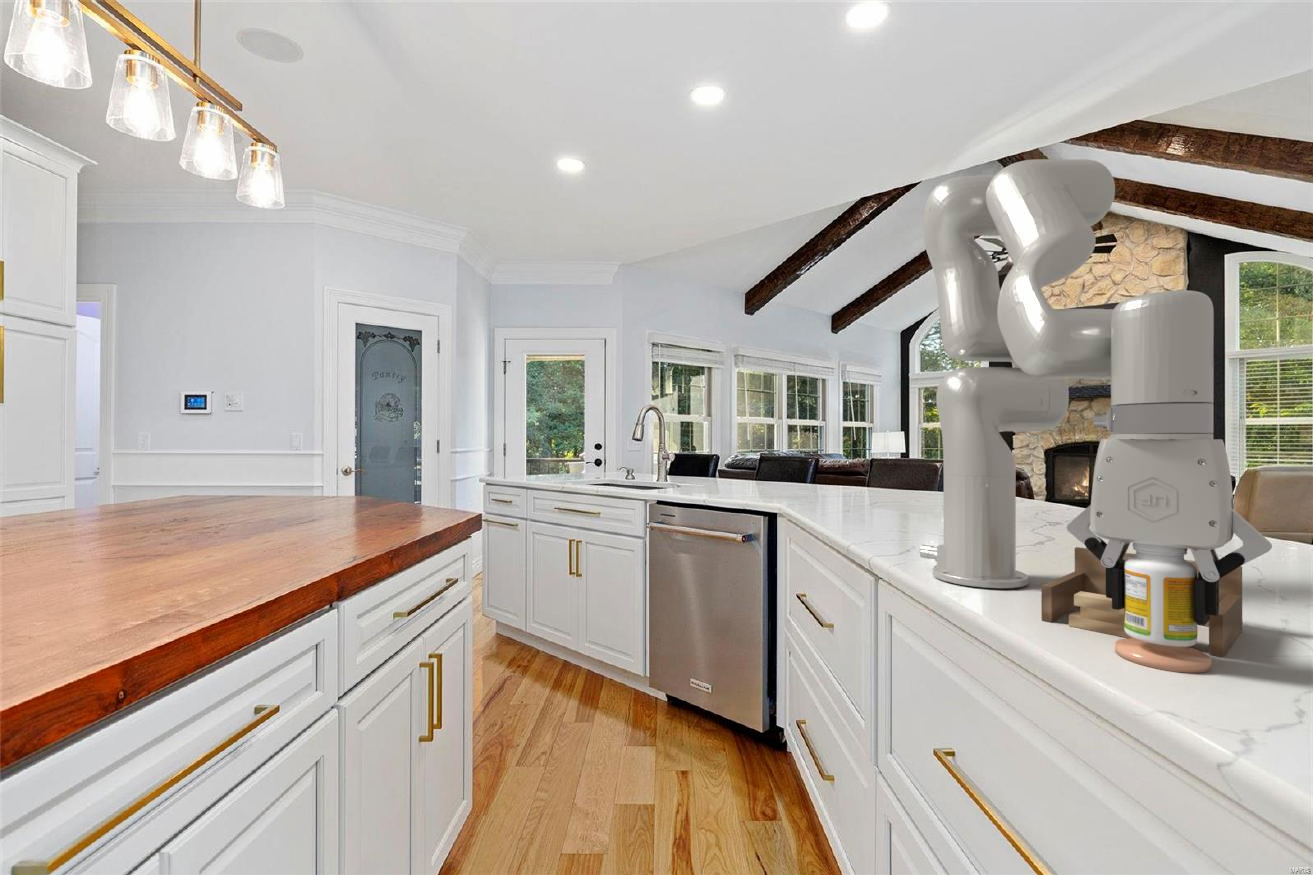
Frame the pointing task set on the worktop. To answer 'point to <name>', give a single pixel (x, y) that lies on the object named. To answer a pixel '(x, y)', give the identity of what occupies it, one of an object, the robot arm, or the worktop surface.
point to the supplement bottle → (1160, 596)
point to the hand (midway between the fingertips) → (1159, 612)
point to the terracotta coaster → (1163, 656)
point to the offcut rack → (1099, 616)
